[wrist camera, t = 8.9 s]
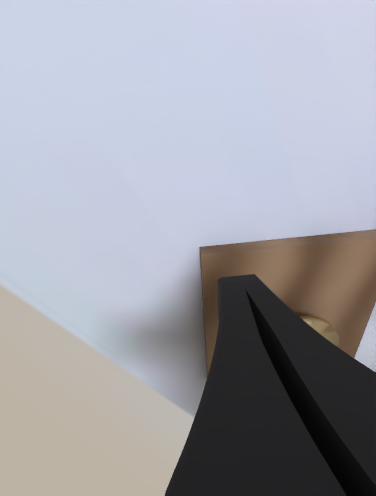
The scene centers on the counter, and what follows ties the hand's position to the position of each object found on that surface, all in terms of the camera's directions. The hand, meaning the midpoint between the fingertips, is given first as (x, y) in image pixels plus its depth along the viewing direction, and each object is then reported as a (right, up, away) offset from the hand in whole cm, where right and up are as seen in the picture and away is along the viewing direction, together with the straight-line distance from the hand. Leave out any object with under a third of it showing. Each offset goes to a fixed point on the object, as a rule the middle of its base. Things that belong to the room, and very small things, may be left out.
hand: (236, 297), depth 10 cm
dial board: (+7, -4, +14) cm, 16 cm away
